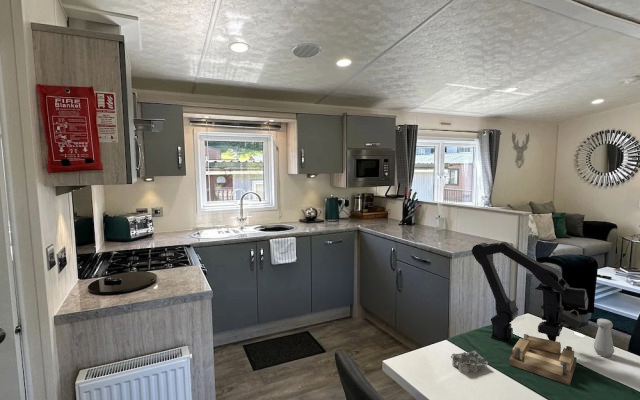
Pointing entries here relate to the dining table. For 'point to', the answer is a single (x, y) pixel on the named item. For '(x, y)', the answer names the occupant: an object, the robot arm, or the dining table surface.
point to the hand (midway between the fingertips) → (553, 344)
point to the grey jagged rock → (471, 357)
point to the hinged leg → (543, 344)
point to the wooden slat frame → (544, 361)
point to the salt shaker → (604, 338)
